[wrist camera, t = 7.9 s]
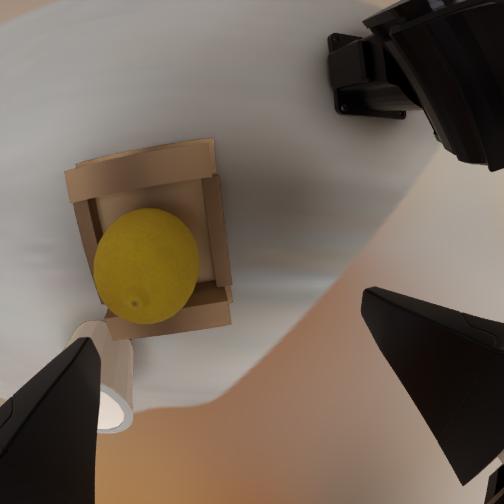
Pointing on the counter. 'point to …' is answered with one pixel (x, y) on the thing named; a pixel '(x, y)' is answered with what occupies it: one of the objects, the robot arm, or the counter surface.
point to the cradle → (167, 199)
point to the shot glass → (111, 376)
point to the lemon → (146, 266)
